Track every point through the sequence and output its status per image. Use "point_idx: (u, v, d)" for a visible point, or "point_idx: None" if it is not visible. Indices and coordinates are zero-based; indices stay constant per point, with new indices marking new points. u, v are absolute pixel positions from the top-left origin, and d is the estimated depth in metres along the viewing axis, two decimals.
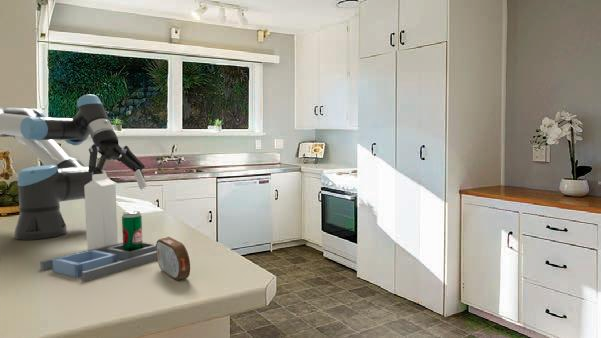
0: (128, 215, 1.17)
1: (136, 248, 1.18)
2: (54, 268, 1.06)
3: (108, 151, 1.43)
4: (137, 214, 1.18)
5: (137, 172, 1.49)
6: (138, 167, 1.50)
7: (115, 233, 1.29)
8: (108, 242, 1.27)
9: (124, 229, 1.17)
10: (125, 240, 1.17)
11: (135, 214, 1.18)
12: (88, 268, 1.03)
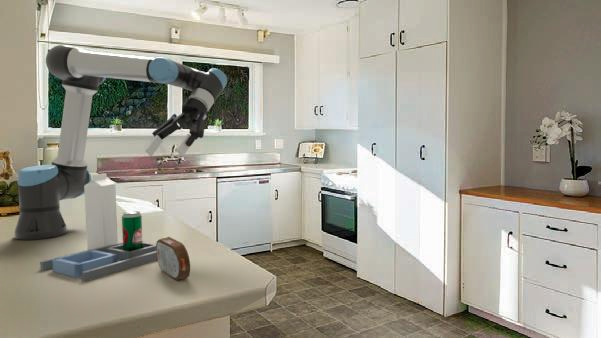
0: (128, 215, 1.17)
1: (136, 248, 1.18)
2: (54, 268, 1.06)
3: None
4: (137, 214, 1.18)
5: (160, 141, 1.37)
6: (162, 138, 1.39)
7: (115, 233, 1.29)
8: (108, 242, 1.27)
9: (124, 229, 1.17)
10: (125, 240, 1.17)
11: (135, 214, 1.18)
12: (88, 268, 1.03)
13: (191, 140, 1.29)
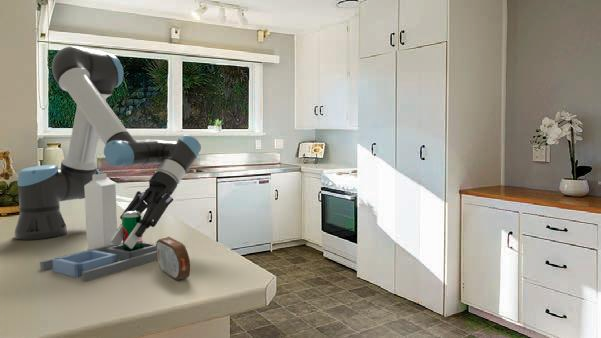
0: (128, 215, 1.17)
1: (136, 248, 1.18)
2: (54, 268, 1.06)
3: None
4: (137, 214, 1.18)
5: None
6: None
7: None
8: (108, 242, 1.27)
9: (124, 229, 1.17)
10: (125, 240, 1.17)
11: (135, 214, 1.18)
12: (88, 268, 1.03)
13: (141, 230, 1.17)
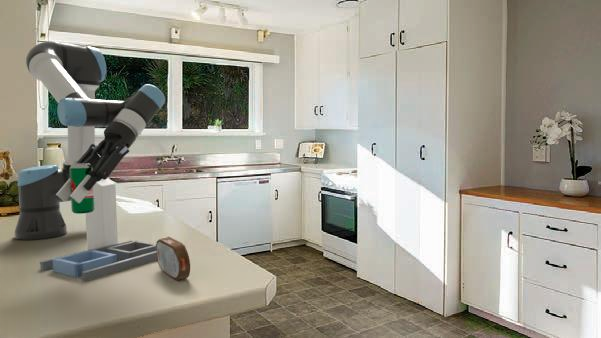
0: (76, 166, 1.04)
1: (85, 203, 1.05)
2: (54, 268, 1.06)
3: None
4: (87, 165, 1.05)
5: None
6: None
7: (115, 233, 1.29)
8: (108, 242, 1.27)
9: (71, 182, 1.04)
10: None
11: (84, 165, 1.05)
12: (88, 268, 1.03)
13: (91, 183, 1.04)
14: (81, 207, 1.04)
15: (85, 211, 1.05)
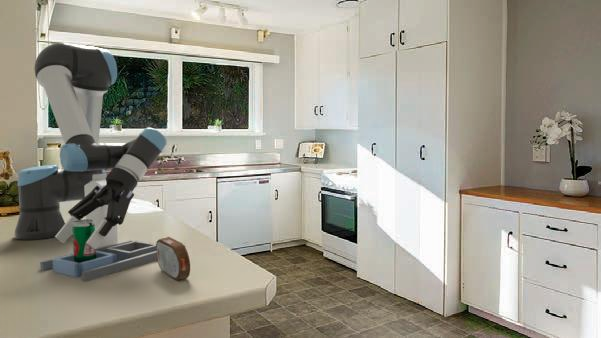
0: (79, 224, 1.05)
1: None
2: (54, 268, 1.06)
3: None
4: (89, 223, 1.06)
5: None
6: (80, 218, 1.14)
7: (115, 233, 1.29)
8: (108, 242, 1.27)
9: (74, 240, 1.05)
10: (75, 251, 1.05)
11: (87, 223, 1.06)
12: (88, 268, 1.03)
13: (106, 228, 1.04)
14: None
15: None
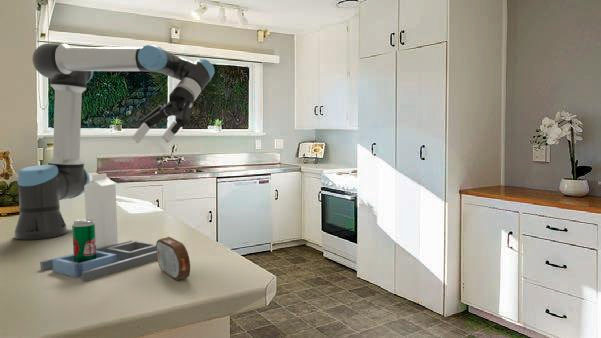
0: (79, 224, 1.05)
1: None
2: (54, 268, 1.06)
3: None
4: (89, 223, 1.06)
5: (147, 128, 1.40)
6: (149, 126, 1.42)
7: (115, 233, 1.29)
8: (108, 242, 1.27)
9: (74, 240, 1.05)
10: (75, 251, 1.05)
11: (87, 223, 1.06)
12: (88, 268, 1.03)
13: (177, 127, 1.32)
14: None
15: None
